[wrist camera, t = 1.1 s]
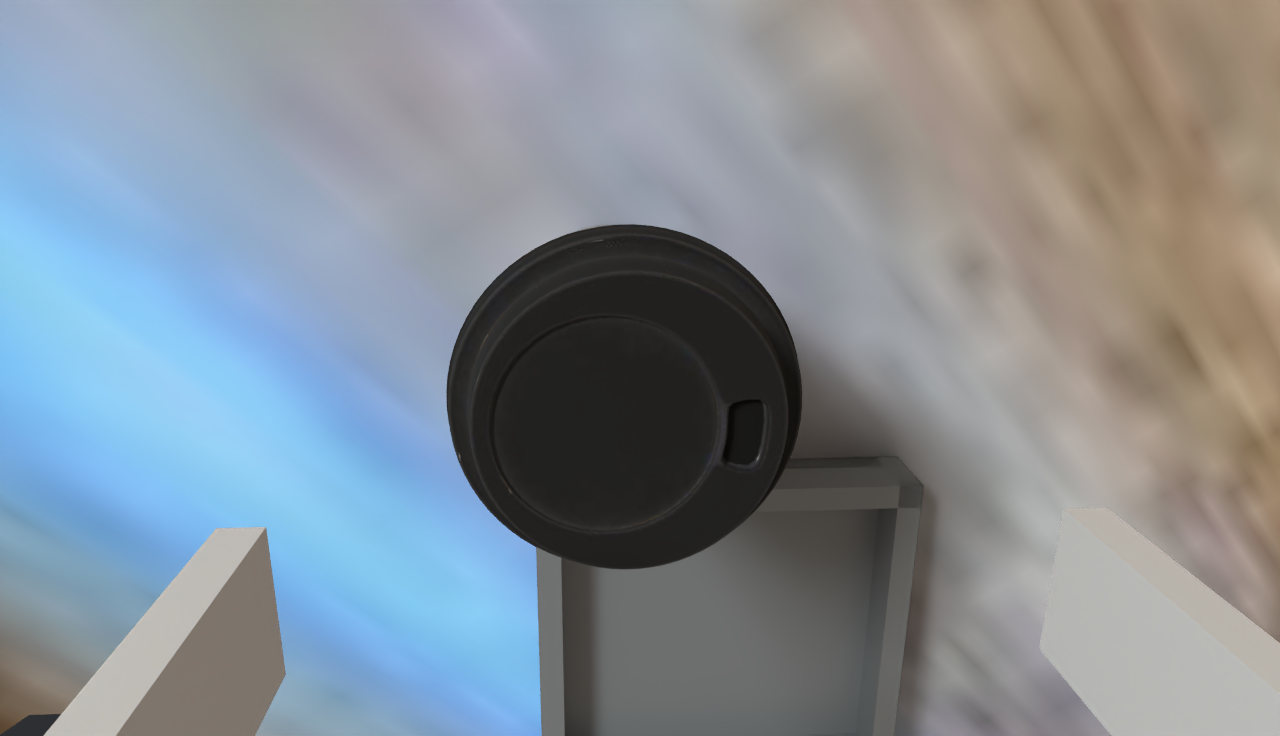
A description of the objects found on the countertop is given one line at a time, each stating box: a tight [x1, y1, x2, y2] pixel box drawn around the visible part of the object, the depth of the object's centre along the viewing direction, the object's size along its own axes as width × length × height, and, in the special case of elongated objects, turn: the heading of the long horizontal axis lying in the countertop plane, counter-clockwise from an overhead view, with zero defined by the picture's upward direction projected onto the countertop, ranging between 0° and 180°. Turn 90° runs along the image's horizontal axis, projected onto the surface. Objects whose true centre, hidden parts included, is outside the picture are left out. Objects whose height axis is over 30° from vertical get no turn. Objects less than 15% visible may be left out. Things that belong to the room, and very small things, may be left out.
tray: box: [536, 457, 924, 736], centre depth 39 cm, size 16×15×3 cm
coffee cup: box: [447, 225, 802, 569], centre depth 28 cm, size 9×9×15 cm
